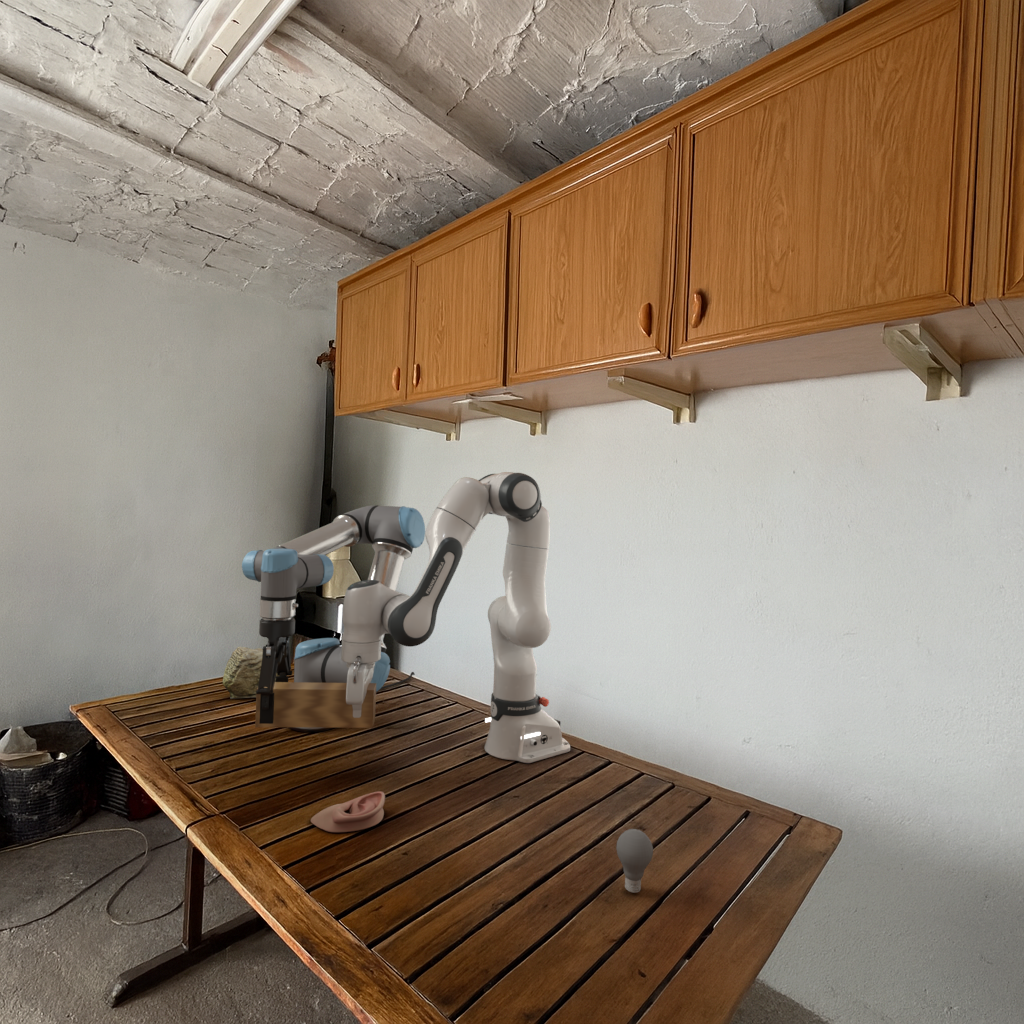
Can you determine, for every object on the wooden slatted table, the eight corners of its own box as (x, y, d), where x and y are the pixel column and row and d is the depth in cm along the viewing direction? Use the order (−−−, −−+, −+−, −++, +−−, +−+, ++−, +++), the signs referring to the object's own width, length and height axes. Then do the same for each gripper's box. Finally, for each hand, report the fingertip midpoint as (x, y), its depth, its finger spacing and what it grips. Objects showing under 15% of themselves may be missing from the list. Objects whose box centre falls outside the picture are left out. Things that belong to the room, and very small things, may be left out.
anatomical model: (303, 807, 121) (332, 781, 132) (302, 827, 121) (331, 800, 132) (368, 817, 118) (392, 790, 129) (367, 838, 118) (391, 809, 129)
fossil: (218, 695, 195) (220, 647, 195) (278, 685, 208) (279, 640, 207) (228, 703, 189) (230, 653, 188) (289, 692, 201) (290, 645, 201)
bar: (255, 727, 140) (256, 688, 140) (261, 719, 145) (263, 681, 145) (372, 727, 143) (373, 689, 142) (375, 719, 148) (376, 683, 148)
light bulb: (610, 879, 108) (613, 822, 108) (644, 879, 109) (647, 822, 109) (619, 902, 102) (622, 840, 102) (655, 901, 103) (658, 840, 103)
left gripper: (281, 629, 131) (277, 733, 131) (306, 608, 155) (302, 696, 155) (243, 628, 130) (239, 732, 130) (274, 607, 154) (271, 696, 154)
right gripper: (370, 663, 135) (367, 728, 135) (379, 641, 155) (377, 697, 155) (339, 663, 134) (337, 728, 134) (353, 641, 154) (351, 697, 155)
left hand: (274, 713), depth 143 cm, fingers open, 12 cm apart
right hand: (359, 711), depth 145 cm, fingers closed on bar, 5 cm apart
